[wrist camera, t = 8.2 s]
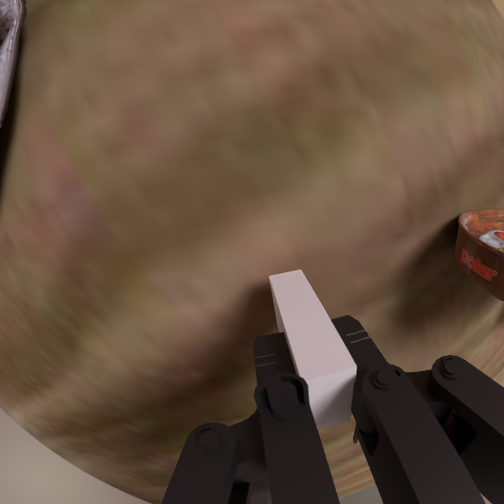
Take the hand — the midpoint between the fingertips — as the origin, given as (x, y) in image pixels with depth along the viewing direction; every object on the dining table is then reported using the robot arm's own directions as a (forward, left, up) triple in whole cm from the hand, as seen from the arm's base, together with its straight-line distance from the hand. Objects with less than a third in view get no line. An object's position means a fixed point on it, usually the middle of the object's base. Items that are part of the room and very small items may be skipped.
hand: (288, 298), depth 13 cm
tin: (0, -17, -2) cm, 17 cm away
